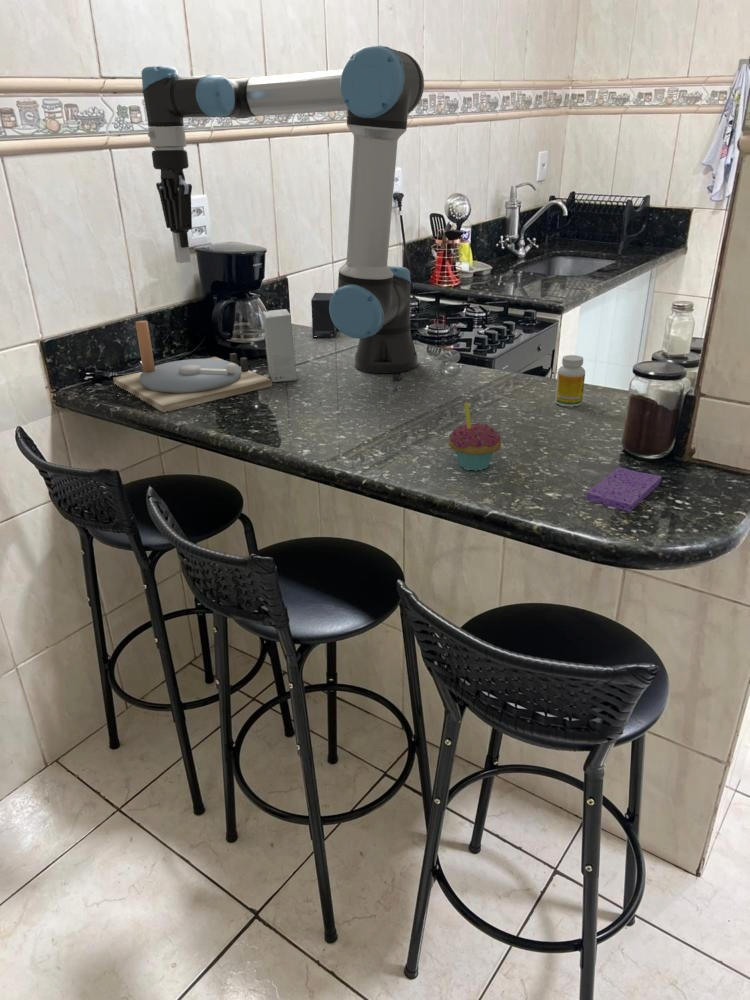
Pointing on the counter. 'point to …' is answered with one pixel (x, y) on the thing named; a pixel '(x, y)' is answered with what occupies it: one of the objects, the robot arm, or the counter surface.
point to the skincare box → (279, 345)
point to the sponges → (623, 489)
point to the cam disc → (182, 370)
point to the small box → (322, 316)
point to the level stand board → (181, 400)
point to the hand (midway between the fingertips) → (183, 261)
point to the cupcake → (474, 443)
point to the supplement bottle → (570, 381)
